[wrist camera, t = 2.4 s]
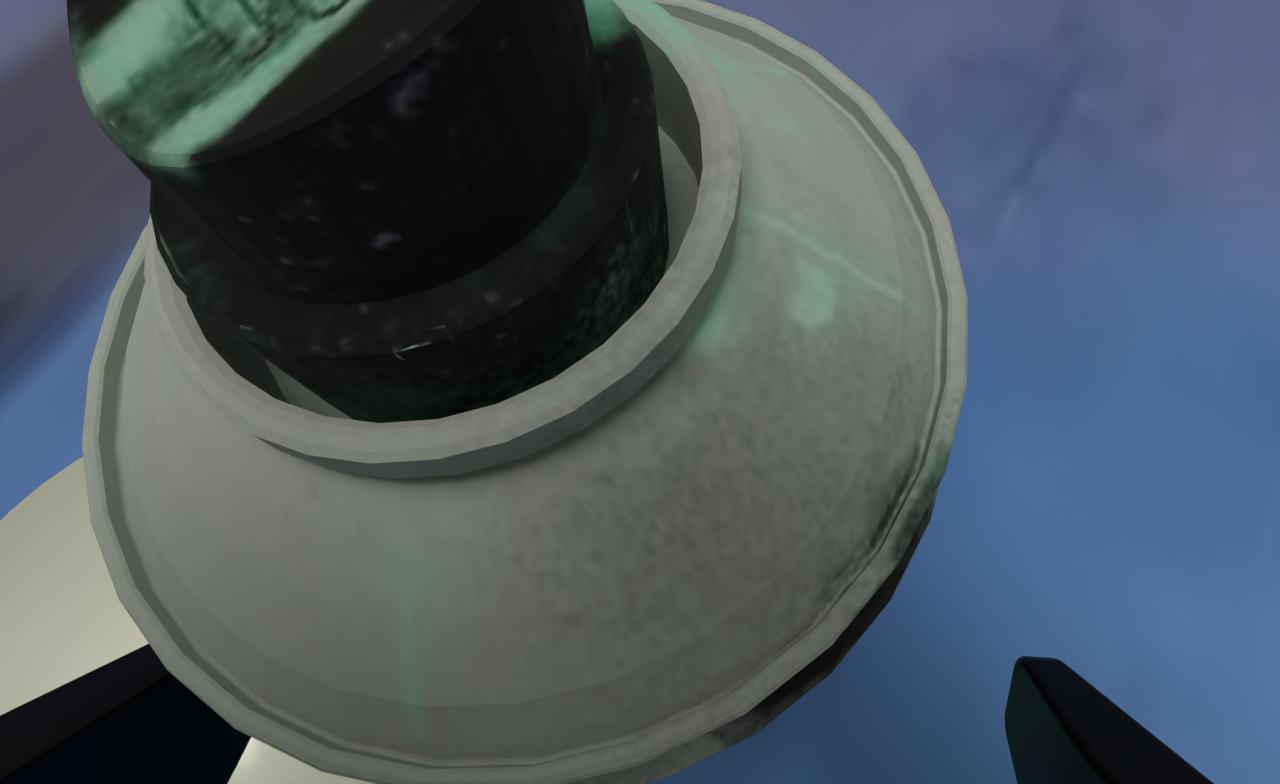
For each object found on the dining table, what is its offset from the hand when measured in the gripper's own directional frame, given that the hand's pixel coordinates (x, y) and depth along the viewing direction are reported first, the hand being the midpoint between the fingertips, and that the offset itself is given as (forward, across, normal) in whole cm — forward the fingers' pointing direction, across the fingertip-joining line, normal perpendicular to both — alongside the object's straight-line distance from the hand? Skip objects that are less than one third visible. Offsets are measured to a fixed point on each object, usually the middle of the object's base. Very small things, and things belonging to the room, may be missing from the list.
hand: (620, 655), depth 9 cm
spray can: (+10, 0, +8) cm, 12 cm away
